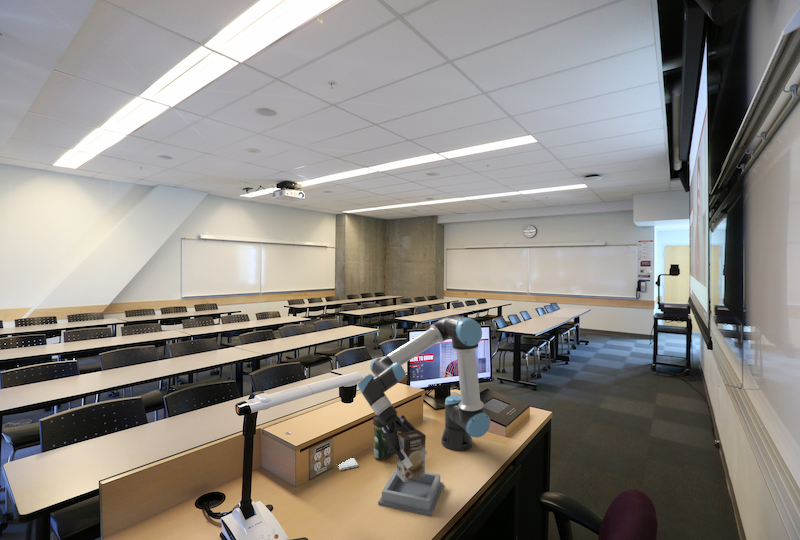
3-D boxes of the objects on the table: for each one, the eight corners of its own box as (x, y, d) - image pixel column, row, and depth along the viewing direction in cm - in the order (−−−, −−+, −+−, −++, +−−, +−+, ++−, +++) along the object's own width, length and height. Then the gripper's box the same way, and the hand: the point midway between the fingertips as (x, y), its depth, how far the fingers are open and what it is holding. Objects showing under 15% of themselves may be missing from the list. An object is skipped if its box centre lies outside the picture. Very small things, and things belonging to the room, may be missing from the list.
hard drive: (332, 455, 172) (340, 468, 161) (350, 451, 176) (358, 464, 165) (332, 458, 172) (340, 472, 161) (350, 454, 176) (358, 467, 165)
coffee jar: (388, 449, 180) (388, 410, 180) (396, 456, 173) (396, 416, 173) (370, 454, 175) (370, 414, 175) (377, 462, 168) (378, 420, 168)
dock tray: (396, 475, 157) (396, 465, 157) (443, 484, 151) (443, 473, 151) (378, 504, 138) (378, 492, 138) (431, 516, 132) (431, 503, 132)
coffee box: (404, 483, 139) (404, 440, 139) (396, 474, 145) (396, 433, 145) (425, 477, 144) (425, 435, 144) (416, 468, 149) (417, 428, 149)
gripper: (395, 406, 162) (426, 453, 154) (361, 425, 143) (394, 479, 135) (405, 397, 159) (438, 443, 151) (372, 414, 140) (407, 469, 132)
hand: (417, 460), depth 143 cm, fingers closed on coffee box, 10 cm apart
